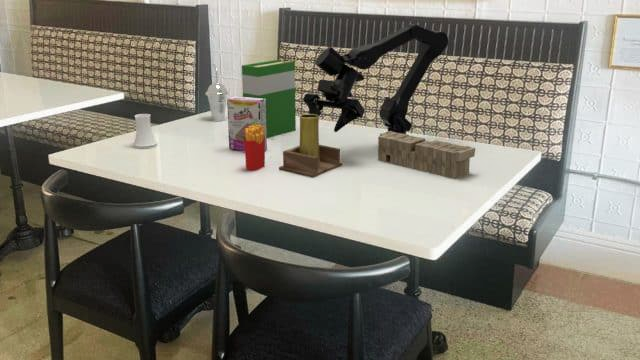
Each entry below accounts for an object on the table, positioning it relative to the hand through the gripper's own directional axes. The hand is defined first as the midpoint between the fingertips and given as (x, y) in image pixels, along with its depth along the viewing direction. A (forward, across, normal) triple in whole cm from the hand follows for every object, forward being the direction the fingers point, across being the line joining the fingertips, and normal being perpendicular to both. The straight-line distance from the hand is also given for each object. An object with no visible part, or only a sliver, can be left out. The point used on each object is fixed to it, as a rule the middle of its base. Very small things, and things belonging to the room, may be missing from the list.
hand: (321, 129), depth 188 cm
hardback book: (-5, -35, +20) cm, 40 cm away
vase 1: (+20, -57, -6) cm, 61 cm away
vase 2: (+11, 0, +3) cm, 11 cm away
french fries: (+18, -13, -3) cm, 22 cm away
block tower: (-2, +25, +18) cm, 31 cm away
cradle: (+11, +1, +3) cm, 12 cm away
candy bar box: (+9, -27, +5) cm, 29 cm away
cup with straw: (-8, -64, +23) cm, 68 cm away
